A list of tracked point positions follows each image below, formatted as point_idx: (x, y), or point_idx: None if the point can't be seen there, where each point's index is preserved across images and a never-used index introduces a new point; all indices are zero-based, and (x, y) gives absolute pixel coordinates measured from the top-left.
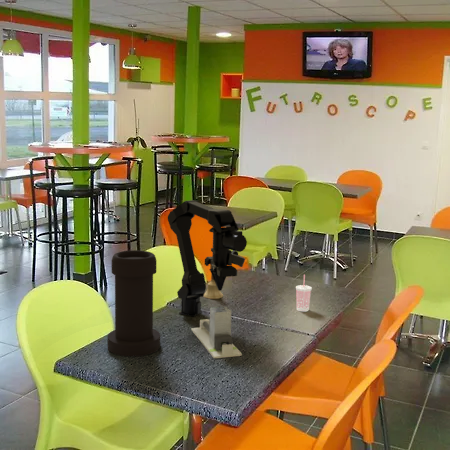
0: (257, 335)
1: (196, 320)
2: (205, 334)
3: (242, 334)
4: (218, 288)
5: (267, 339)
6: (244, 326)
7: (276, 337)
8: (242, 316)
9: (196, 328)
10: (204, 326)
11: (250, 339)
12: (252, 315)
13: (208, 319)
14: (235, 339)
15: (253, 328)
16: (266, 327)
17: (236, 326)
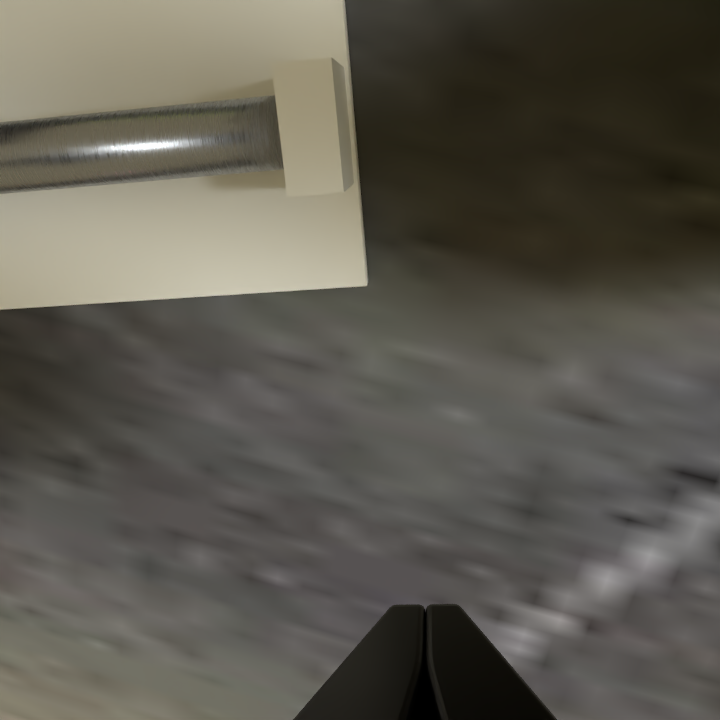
0: (117, 583)
1: (689, 93)
2: (96, 90)
3: (147, 477)
4: (363, 640)
5: (25, 622)
6: (358, 554)
7: (69, 692)
8: (651, 619)
9: (315, 12)
10: (204, 102)
11: (21, 504)
12: (648, 703)
13: (326, 191)
14: (18, 382)
15: (293, 607)
16: (303, 702)
17: (371, 488)
